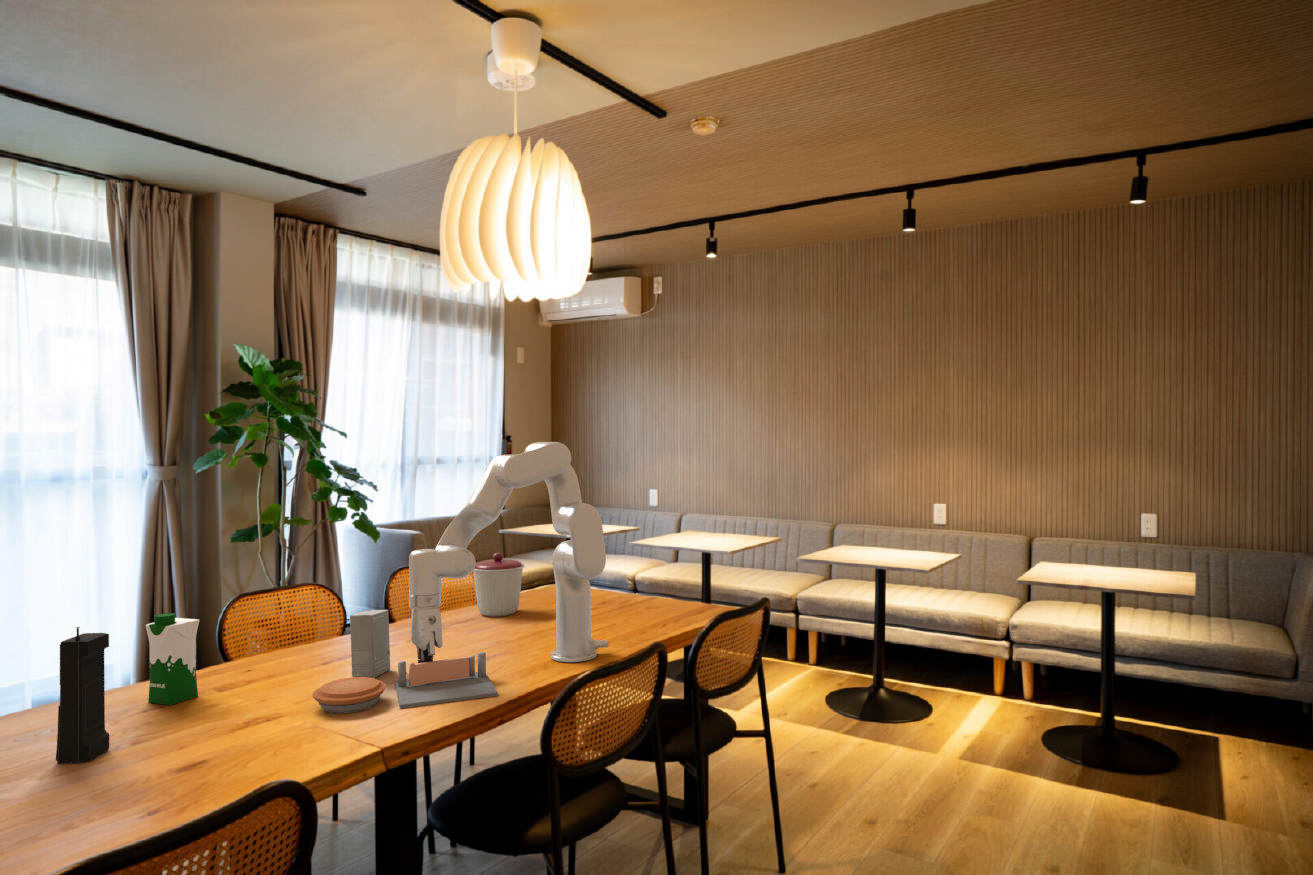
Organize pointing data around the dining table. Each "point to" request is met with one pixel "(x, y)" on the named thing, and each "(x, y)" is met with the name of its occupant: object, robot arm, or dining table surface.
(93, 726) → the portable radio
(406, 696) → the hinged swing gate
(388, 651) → the skincare box
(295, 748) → the dining table surface
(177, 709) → the dining table surface
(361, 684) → the pie
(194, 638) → the milk carton
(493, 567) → the canister
